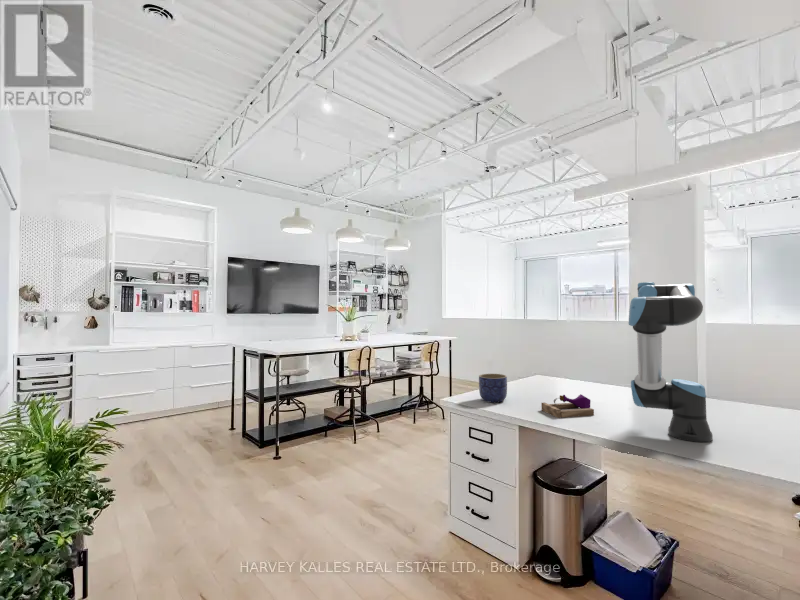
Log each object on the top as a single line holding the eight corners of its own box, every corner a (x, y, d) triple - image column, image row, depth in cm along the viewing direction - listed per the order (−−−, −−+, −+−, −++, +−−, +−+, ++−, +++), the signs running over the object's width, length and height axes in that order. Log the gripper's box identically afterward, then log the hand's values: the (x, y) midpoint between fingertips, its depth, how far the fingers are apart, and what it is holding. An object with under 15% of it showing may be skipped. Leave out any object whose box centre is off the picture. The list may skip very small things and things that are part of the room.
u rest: (593, 415, 200) (593, 407, 200) (557, 417, 197) (556, 409, 197) (576, 407, 215) (575, 400, 215) (541, 410, 211) (541, 402, 211)
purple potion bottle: (586, 394, 212) (552, 392, 214) (591, 397, 205) (556, 395, 207) (586, 408, 212) (551, 406, 214) (591, 411, 205) (555, 409, 207)
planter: (490, 396, 246) (490, 372, 247) (513, 400, 234) (512, 375, 234) (473, 400, 236) (473, 375, 236) (496, 405, 223) (495, 379, 223)
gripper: (652, 312, 202) (653, 357, 202) (630, 312, 200) (631, 359, 200) (664, 312, 195) (666, 359, 195) (641, 313, 193) (642, 360, 192)
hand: (648, 359), depth 197 cm, fingers closed
